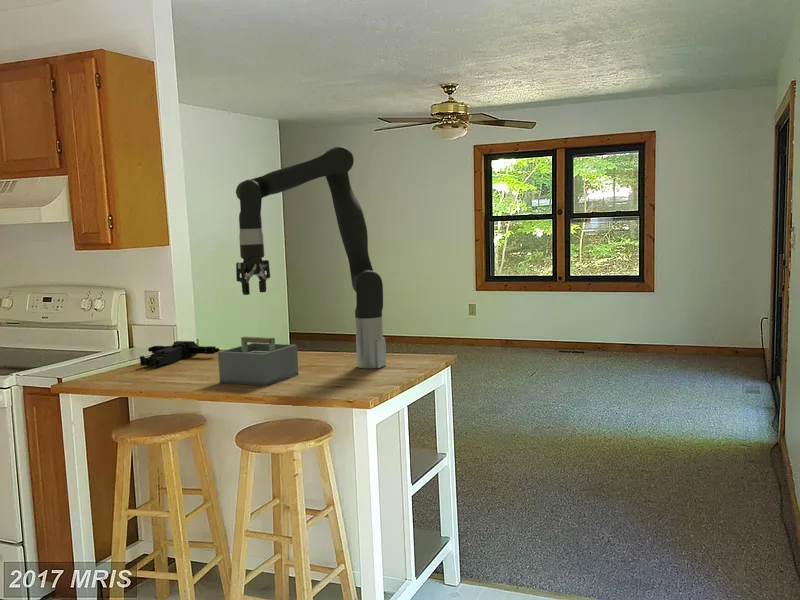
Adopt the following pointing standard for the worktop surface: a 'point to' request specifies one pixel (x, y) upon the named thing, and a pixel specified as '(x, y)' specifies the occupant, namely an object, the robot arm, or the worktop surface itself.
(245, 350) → the green basket
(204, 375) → the worktop surface
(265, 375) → the charcoal crate
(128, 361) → the worktop surface
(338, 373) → the worktop surface
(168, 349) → the toy
